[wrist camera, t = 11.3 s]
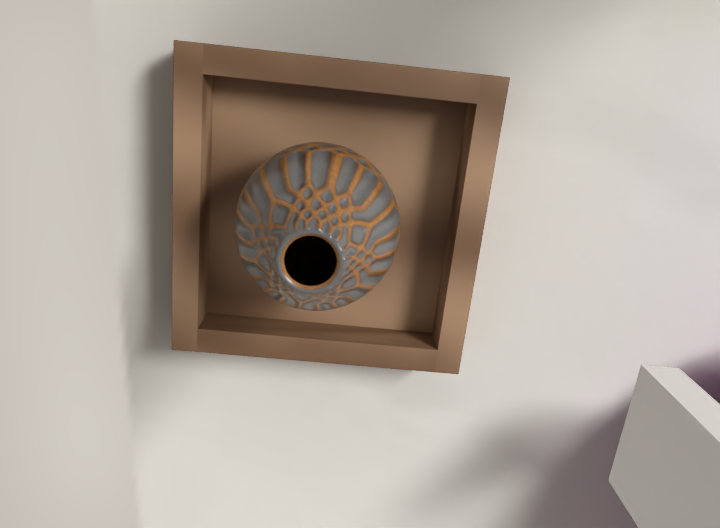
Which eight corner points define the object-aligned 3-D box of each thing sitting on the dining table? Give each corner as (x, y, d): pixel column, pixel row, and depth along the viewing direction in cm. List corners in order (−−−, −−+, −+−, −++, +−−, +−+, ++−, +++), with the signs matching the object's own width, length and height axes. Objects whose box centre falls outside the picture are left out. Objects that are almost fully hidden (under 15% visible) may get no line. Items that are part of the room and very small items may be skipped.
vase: (239, 259, 28) (193, 333, 20) (264, 119, 26) (224, 137, 18) (375, 288, 29) (385, 371, 21) (409, 153, 27) (435, 185, 19)
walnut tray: (190, 44, 26) (173, 40, 23) (495, 77, 27) (509, 77, 24) (186, 327, 30) (171, 349, 28) (449, 350, 31) (458, 374, 28)
